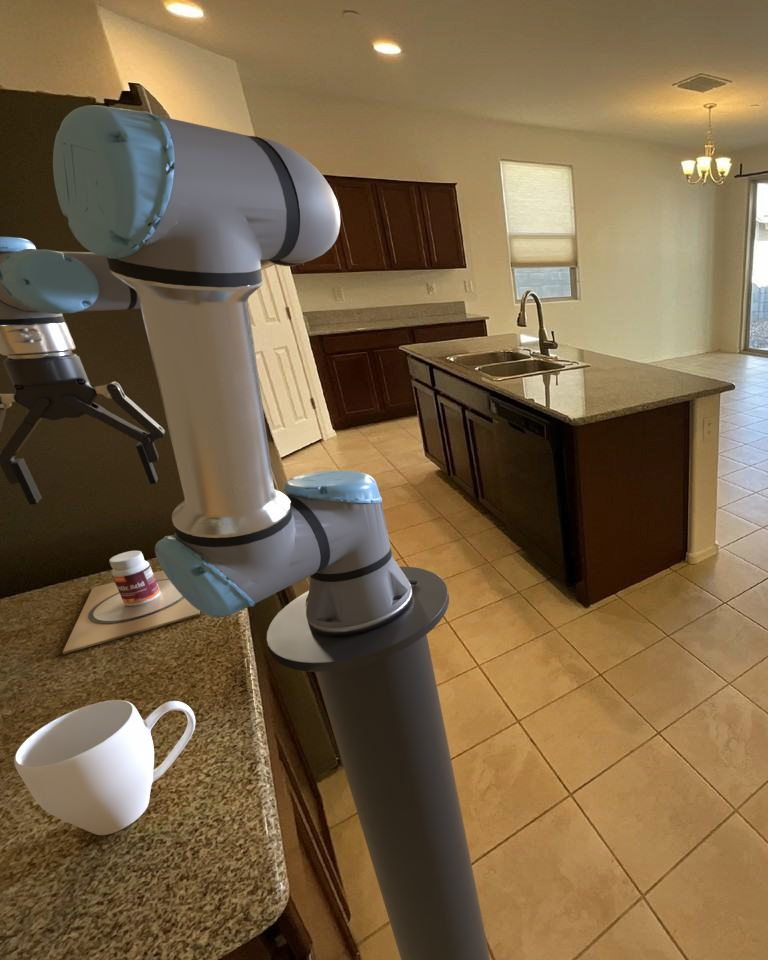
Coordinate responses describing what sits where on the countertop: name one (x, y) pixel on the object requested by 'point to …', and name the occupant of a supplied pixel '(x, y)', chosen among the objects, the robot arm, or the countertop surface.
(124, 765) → the mug
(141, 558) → the pill bottle
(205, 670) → the countertop surface
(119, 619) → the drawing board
